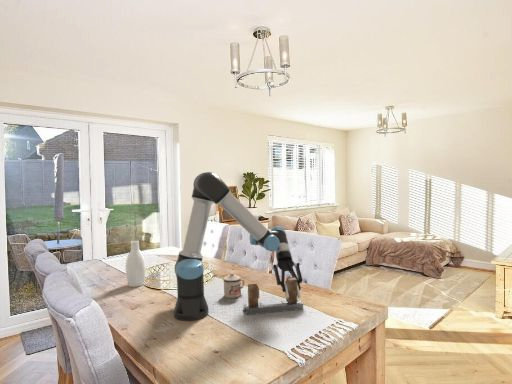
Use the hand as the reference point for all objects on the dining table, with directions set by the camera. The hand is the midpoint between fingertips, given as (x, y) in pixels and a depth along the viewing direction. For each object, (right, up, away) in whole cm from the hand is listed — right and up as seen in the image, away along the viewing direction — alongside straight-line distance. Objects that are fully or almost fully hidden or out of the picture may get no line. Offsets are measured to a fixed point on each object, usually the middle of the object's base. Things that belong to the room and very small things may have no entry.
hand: (293, 297), depth 153 cm
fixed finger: (-18, -6, +1) cm, 19 cm away
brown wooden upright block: (0, -3, +4) cm, 5 cm away
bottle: (-87, -6, +42) cm, 97 cm away
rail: (-9, -5, 0) cm, 11 cm away
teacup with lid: (-28, -5, +20) cm, 35 cm away
